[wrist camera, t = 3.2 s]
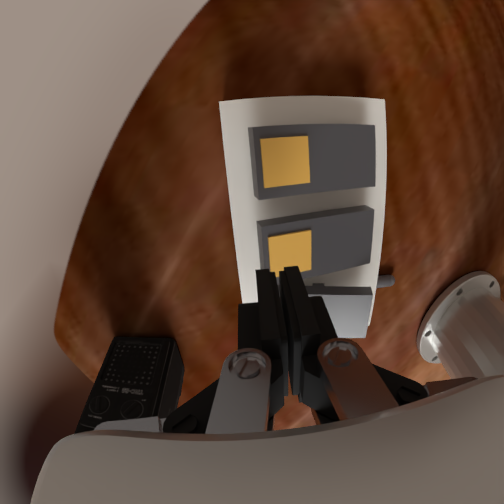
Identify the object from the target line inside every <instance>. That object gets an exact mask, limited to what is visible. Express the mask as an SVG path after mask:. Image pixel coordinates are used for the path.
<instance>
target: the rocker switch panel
mask: <svg viewBox="0 0 504 504" xmlns="http://www.w3.org/2000/svg"><path fill="white" fill-rule="evenodd" d="M219 107H220V116H221V126H222V136H223V145H224V154H225V163H226V172H227V181H228V190H229V198H230V207H231V215H232V224H233V232H234V240H235V248H236V256H237V264H238V272H239V280H240V288H241V296H242V303H254V302H258V295H257V283H256V271H255V270H258V269H260V258H259V246H258V235H257V223H256V221H259V220H266V219H272V218H278V217H285V216H291V215H298V214H304V213H311V212H318V211H325V210H332V209H339V208H346V207H353V206H361V205H366V206H368V207H370V208H373V209H374V225H373V238H372V249H371V259H370V263H369V264H365V265H361V266H357V267H353V268H349V269H345V270H341V271H336V272H332V273H328V274H324V275H319V276H315V277H311V278H306V279H303V281H304V284H305V286H312V285H313V283H324V286H355V287H371V289H372V293H373V299H372V305H371V311H370V316H369V321H368V325H370V321H371V315H372V310H373V304H374V298H375V292H376V288H380V287H388V286H392V285H393V284H394V282H395V278H394V276H392V275H382V276H378V272H379V264H380V256H381V247H382V238H383V227H384V213H385V197H386V165H387V144H386V113H385V99H374V98H361V97H343V96H281V97H263V98H250V99H239V100H229V101H221V102H219ZM292 124H366V125H375V139H376V182H375V187H365V188H355V189H345V190H336V191H327V192H318V193H310V194H302V195H294V196H286V197H279V198H272V199H265V200H258V199H257V198H256V197H255V196H254V190H253V179H252V168H251V157H250V146H249V136H248V127H259V126H273V125H292Z"/></svg>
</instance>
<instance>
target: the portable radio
mask: <svg viewBox="0 0 504 504" xmlns="http://www.w3.org/2000/svg"><path fill="white" fill-rule="evenodd" d="M183 376H184V365H183V362H182V359H181V356H180V353H179V350H178V347H177V344H176V341H175V340H173V339H172V338H143V337H114V339H113V340H112V342H111V344H110V347H109V349H108V352H107V354H106V357H105V359H104V361H103V364H102V366H101V368H100V371H99V373H98V376H97V378H96V381H95V383H94V386H93V388H92V390H91V393H90V395H89V397H88V400H87V402H86V405H85V408H84V410H83V413H82V415H81V418H80V420H79V423H78V425H77V428H76V431H75V434H77V433H82V432H87V431H93V430H94V429H95V428H96V426H98V425H99V424H101V423H103V422H107V421H119V420H130V419H140V418H148V417H156V416H158V417H159V419H163V418H167V416H168V415H170V414H171V413H172V412H173V411H175V410H176V409H177V405H178V400H179V397H180V395H181V389H182V383H183Z"/></svg>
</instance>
